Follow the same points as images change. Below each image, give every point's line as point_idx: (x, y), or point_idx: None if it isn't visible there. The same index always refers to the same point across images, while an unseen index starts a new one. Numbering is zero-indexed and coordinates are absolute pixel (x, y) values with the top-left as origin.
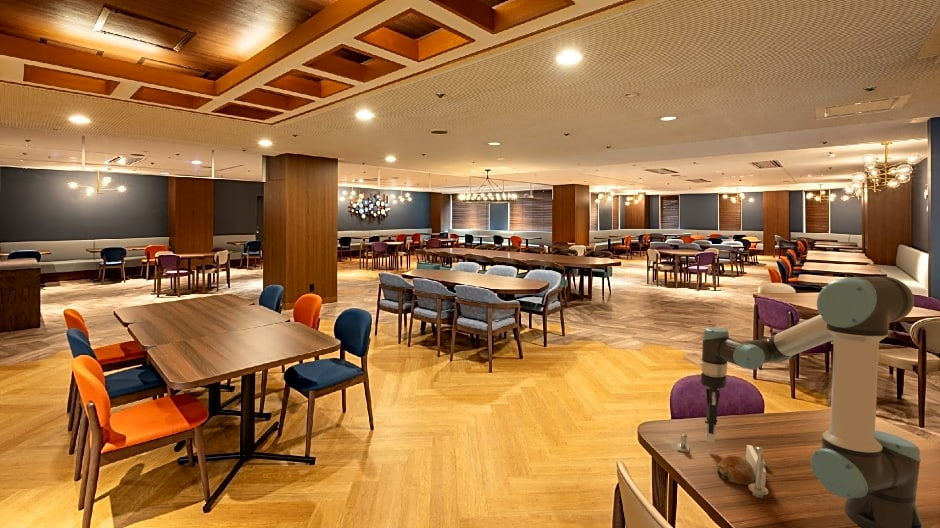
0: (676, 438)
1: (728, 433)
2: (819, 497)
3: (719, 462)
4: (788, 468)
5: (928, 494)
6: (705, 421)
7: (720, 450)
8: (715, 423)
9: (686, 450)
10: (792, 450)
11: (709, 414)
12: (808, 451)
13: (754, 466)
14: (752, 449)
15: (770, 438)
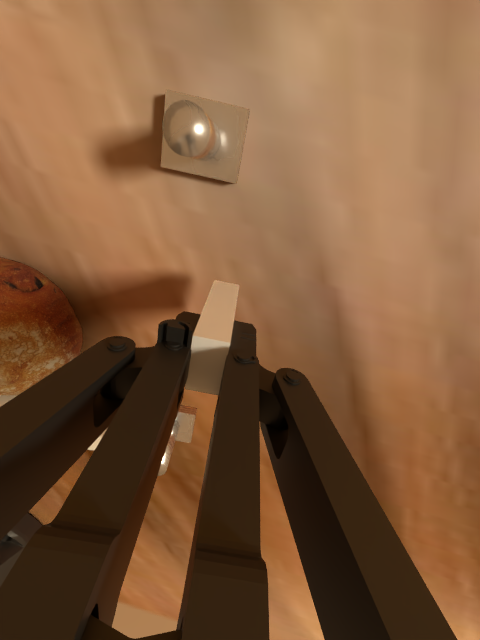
0: (344, 127)
1: (409, 404)
2: None
3: (2, 281)
4: (163, 474)
5: (146, 608)
6: (170, 330)
7: None
8: (97, 392)
9: (163, 150)
10: (286, 518)
11: (10, 409)
12: (287, 542)
13: (6, 402)
14: (96, 445)
15: None
